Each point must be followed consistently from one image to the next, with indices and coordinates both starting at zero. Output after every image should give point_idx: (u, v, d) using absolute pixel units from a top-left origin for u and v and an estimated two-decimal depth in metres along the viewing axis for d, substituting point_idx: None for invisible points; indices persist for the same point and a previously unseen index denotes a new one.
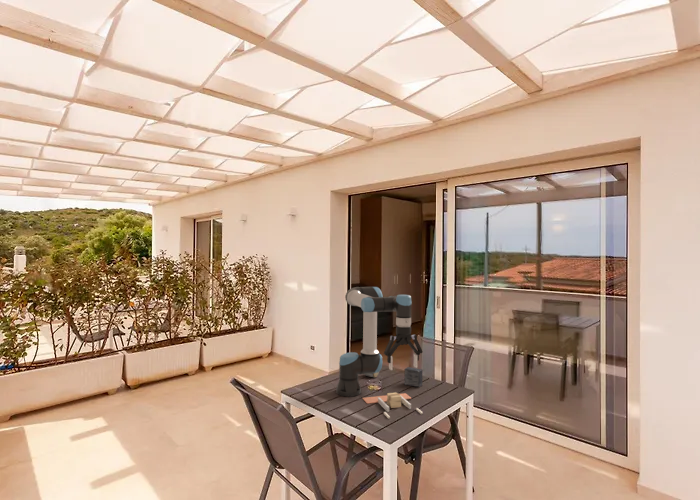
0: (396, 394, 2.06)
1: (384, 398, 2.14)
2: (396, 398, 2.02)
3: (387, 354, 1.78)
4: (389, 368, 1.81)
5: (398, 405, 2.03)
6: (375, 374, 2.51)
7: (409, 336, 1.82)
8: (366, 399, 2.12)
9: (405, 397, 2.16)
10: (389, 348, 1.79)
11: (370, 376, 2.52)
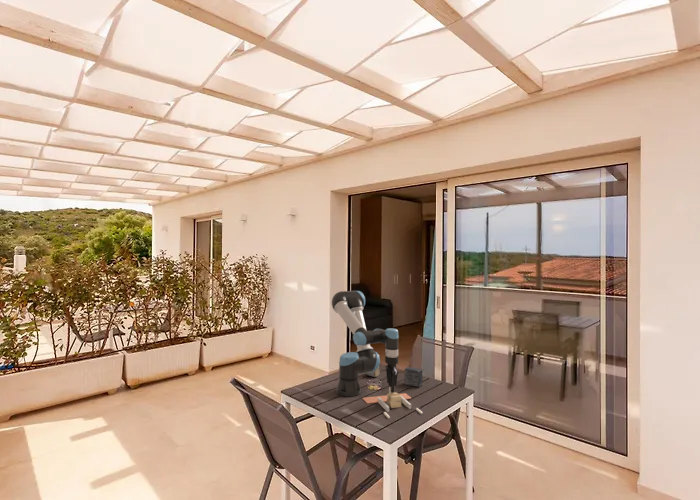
0: (396, 394, 2.06)
1: (384, 398, 2.14)
2: (396, 398, 2.02)
3: (387, 381, 2.11)
4: None
5: (398, 405, 2.03)
6: (376, 374, 2.52)
7: (392, 366, 2.06)
8: (366, 399, 2.12)
9: (405, 397, 2.16)
10: (387, 376, 2.12)
11: None
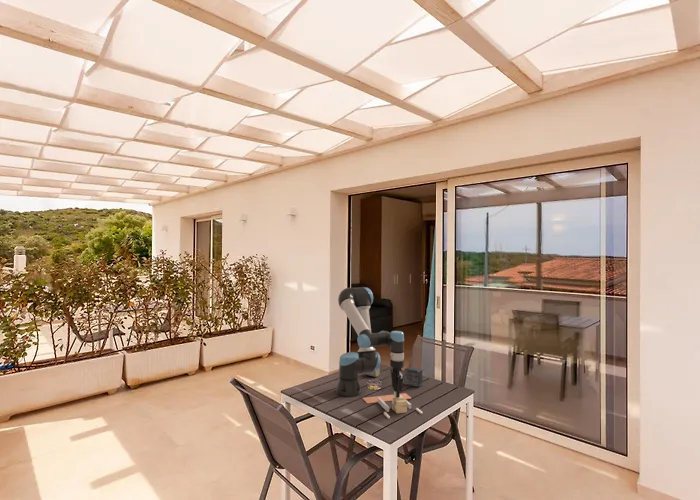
0: (401, 399, 1.99)
1: (384, 398, 2.14)
2: (401, 403, 1.95)
3: (392, 386, 2.04)
4: None
5: (404, 410, 1.96)
6: (376, 373, 2.53)
7: (397, 370, 1.99)
8: (366, 399, 2.12)
9: (405, 397, 2.16)
10: (392, 380, 2.05)
11: (371, 375, 2.53)
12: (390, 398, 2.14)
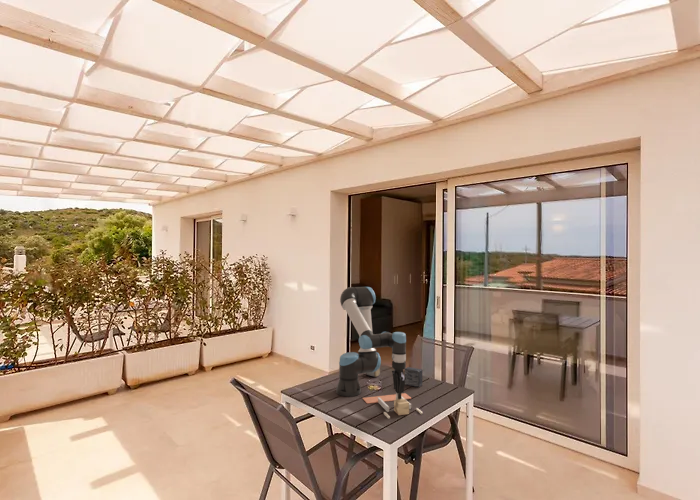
0: (403, 400, 1.97)
1: (384, 398, 2.14)
2: (403, 404, 1.93)
3: (394, 387, 2.02)
4: None
5: (406, 412, 1.94)
6: (376, 373, 2.53)
7: (399, 372, 1.97)
8: (366, 399, 2.12)
9: (405, 397, 2.16)
10: (393, 382, 2.03)
11: (371, 375, 2.54)
12: (390, 398, 2.14)
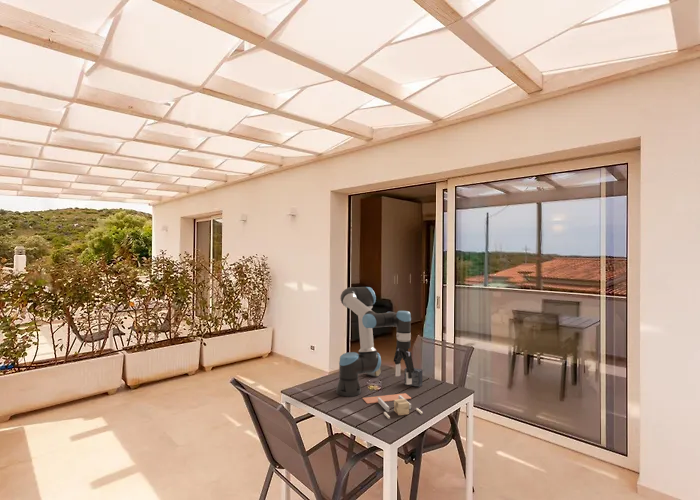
0: (403, 401, 1.97)
1: (384, 398, 2.14)
2: (403, 404, 1.93)
3: (394, 360, 2.03)
4: None
5: (406, 412, 1.93)
6: (377, 373, 2.54)
7: (403, 351, 1.92)
8: (366, 399, 2.12)
9: (405, 397, 2.16)
10: (395, 356, 2.02)
11: (372, 375, 2.54)
12: (390, 398, 2.14)
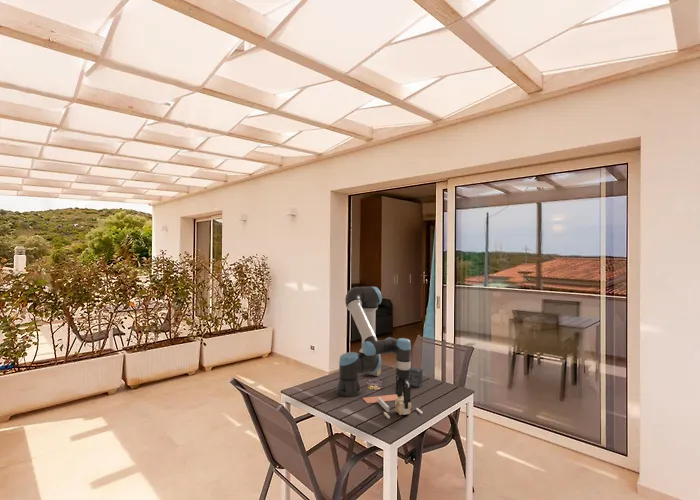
0: None
1: (384, 398, 2.14)
2: None
3: (396, 392, 2.00)
4: None
5: None
6: (378, 373, 2.54)
7: (403, 379, 1.92)
8: (366, 399, 2.12)
9: None
10: (396, 387, 2.00)
11: (373, 375, 2.55)
12: (390, 398, 2.14)
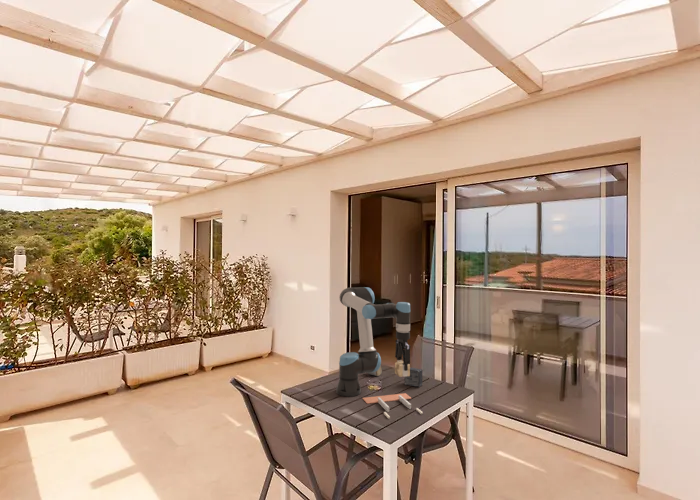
0: None
1: (384, 398, 2.14)
2: None
3: (395, 356, 2.01)
4: None
5: None
6: (378, 373, 2.55)
7: (403, 342, 1.93)
8: (366, 399, 2.12)
9: (405, 397, 2.16)
10: (396, 351, 2.01)
11: (373, 374, 2.55)
12: (390, 398, 2.14)
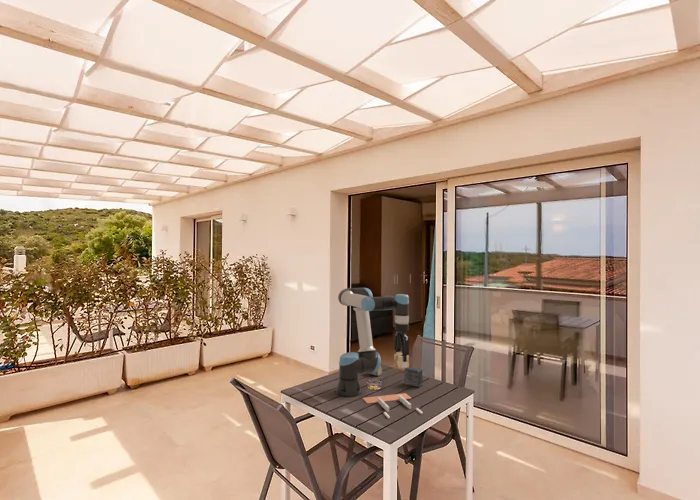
0: None
1: (384, 398, 2.14)
2: None
3: (395, 348, 2.02)
4: None
5: None
6: (378, 372, 2.55)
7: (402, 333, 1.94)
8: (366, 399, 2.12)
9: (405, 397, 2.16)
10: (395, 343, 2.03)
11: (373, 374, 2.56)
12: (390, 398, 2.14)
